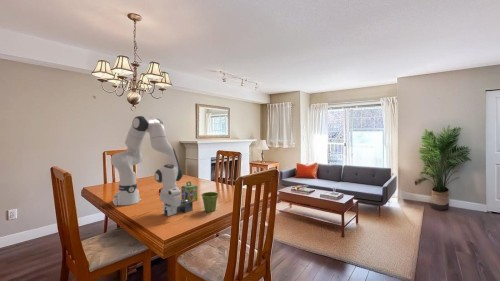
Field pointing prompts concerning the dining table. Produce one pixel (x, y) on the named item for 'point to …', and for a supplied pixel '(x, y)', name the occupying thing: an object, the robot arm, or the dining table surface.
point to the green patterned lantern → (189, 192)
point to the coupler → (184, 206)
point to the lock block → (168, 210)
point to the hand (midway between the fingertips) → (169, 210)
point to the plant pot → (210, 201)
